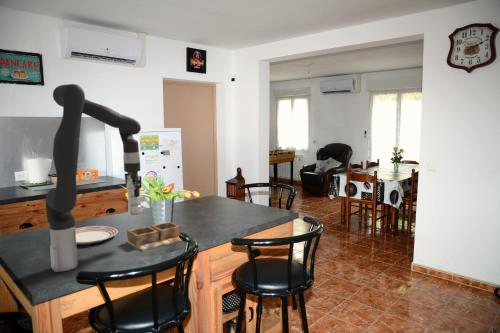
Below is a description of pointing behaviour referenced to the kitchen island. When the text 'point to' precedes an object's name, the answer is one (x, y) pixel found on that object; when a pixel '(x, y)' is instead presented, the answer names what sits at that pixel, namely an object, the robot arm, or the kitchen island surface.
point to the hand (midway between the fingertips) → (134, 195)
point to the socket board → (154, 236)
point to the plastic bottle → (133, 200)
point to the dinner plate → (94, 234)
